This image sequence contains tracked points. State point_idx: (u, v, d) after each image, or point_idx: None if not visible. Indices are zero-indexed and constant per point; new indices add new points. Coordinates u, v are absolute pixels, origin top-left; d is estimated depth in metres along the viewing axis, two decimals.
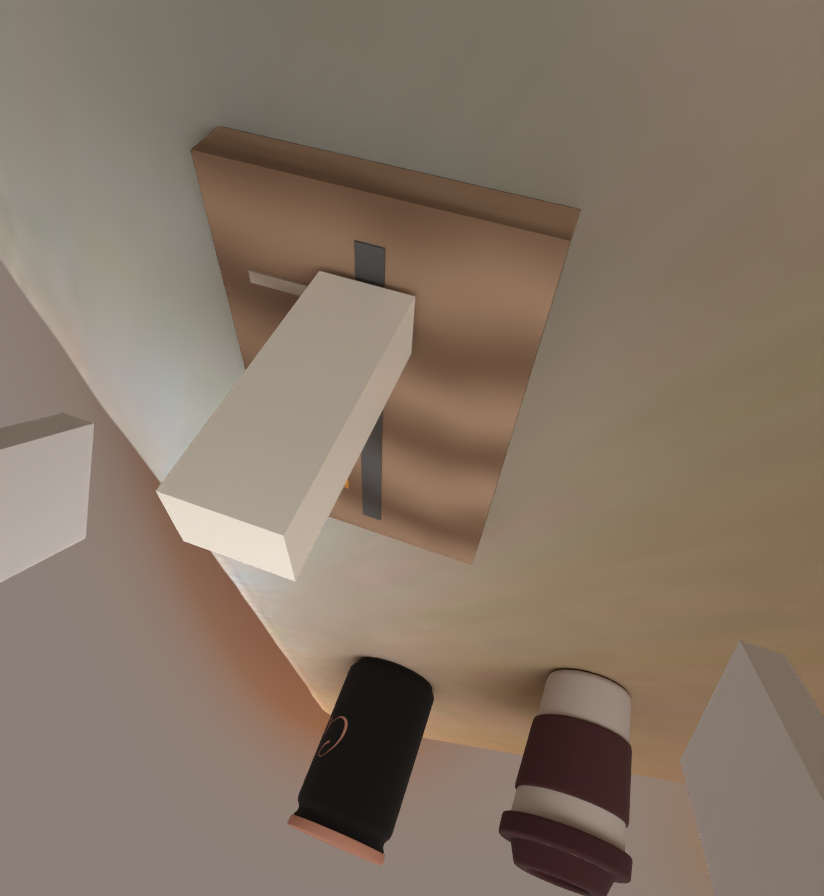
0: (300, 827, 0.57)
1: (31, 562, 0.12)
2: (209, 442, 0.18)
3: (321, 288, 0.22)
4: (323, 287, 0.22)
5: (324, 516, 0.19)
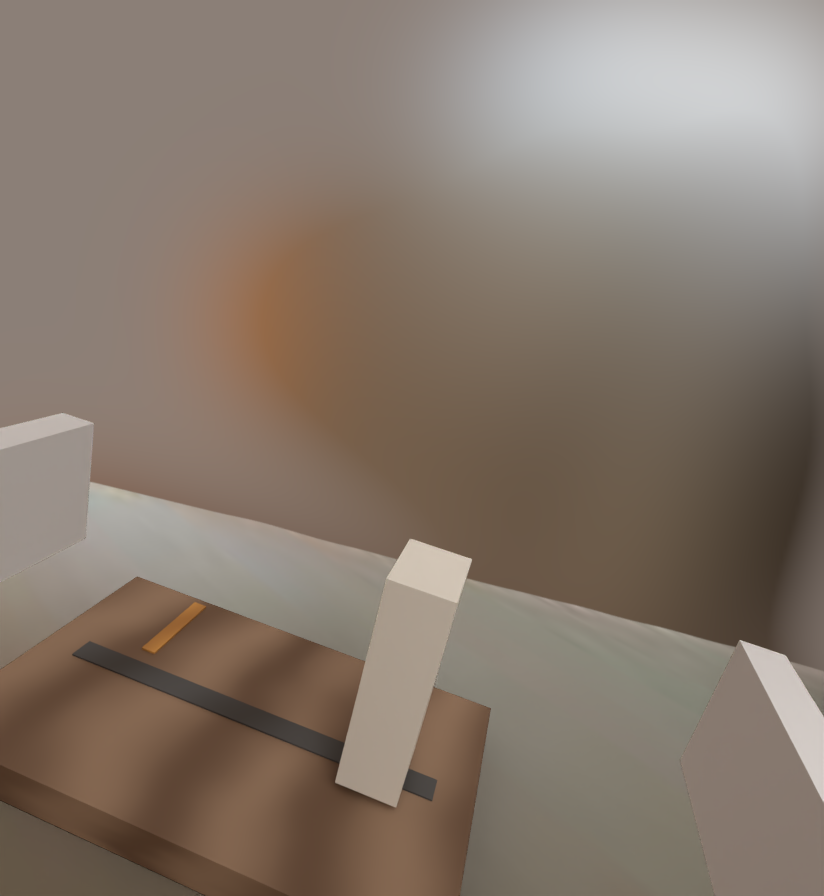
0: None
1: (30, 563, 0.12)
2: None
3: (418, 736, 0.29)
4: (417, 738, 0.29)
5: (383, 628, 0.24)
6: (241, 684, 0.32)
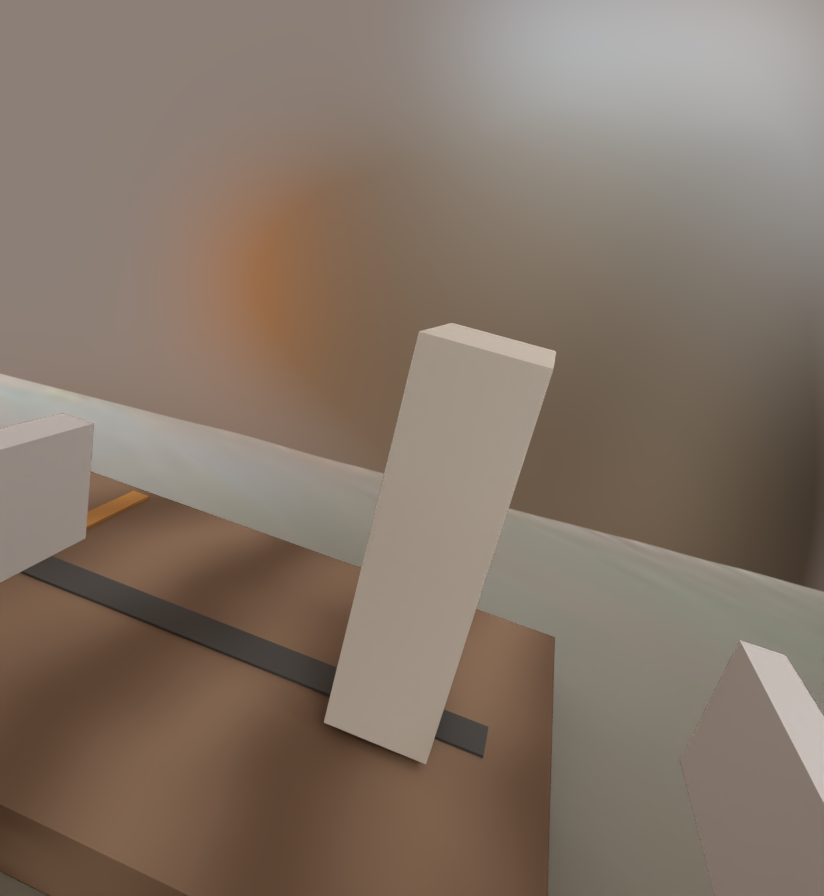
0: None
1: (31, 563, 0.12)
2: None
3: None
4: None
5: (412, 432, 0.13)
6: (185, 586, 0.21)
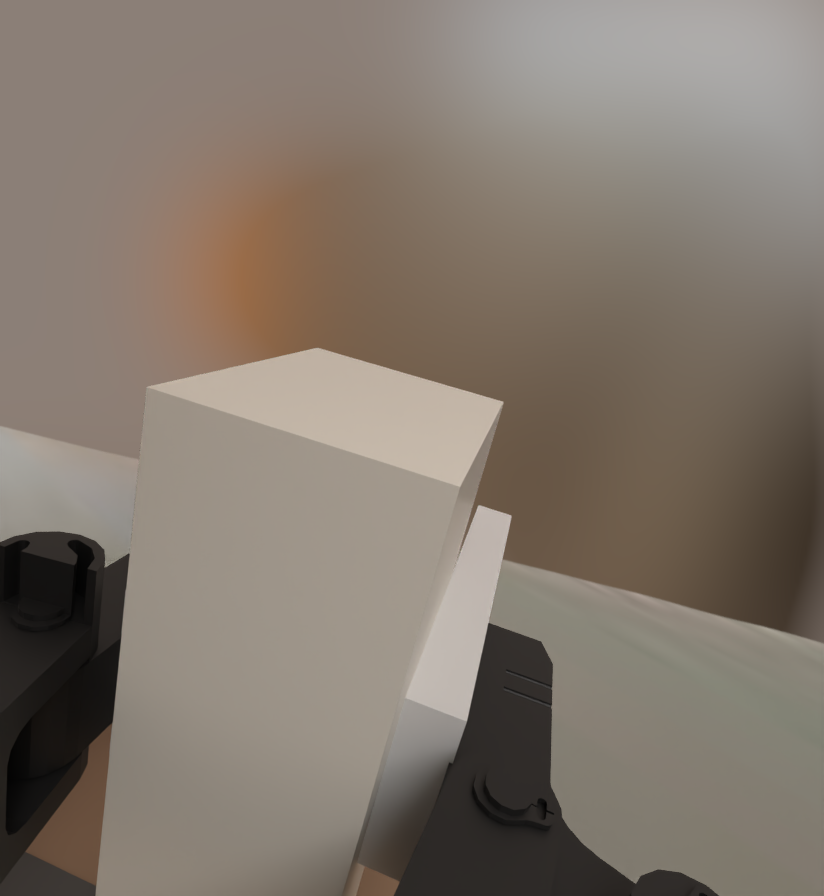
0: None
1: None
2: (462, 537, 0.09)
3: None
4: None
5: (160, 608, 0.06)
6: None
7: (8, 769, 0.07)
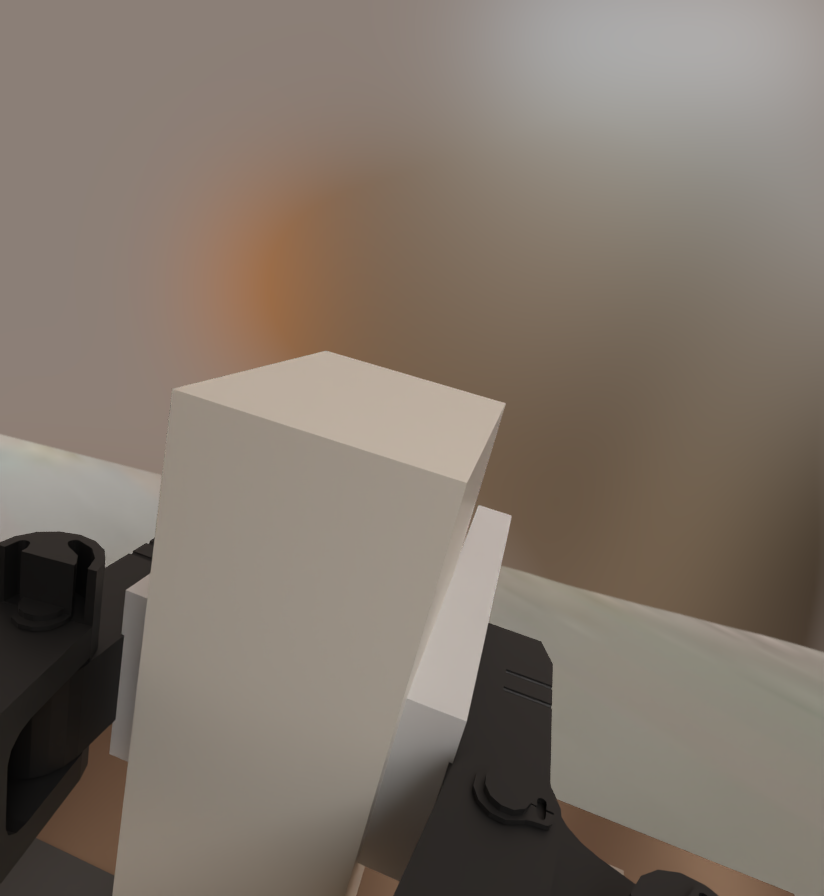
0: None
1: None
2: (465, 533, 0.09)
3: (356, 889, 0.12)
4: (355, 893, 0.12)
5: (181, 598, 0.06)
6: None
7: (8, 769, 0.07)
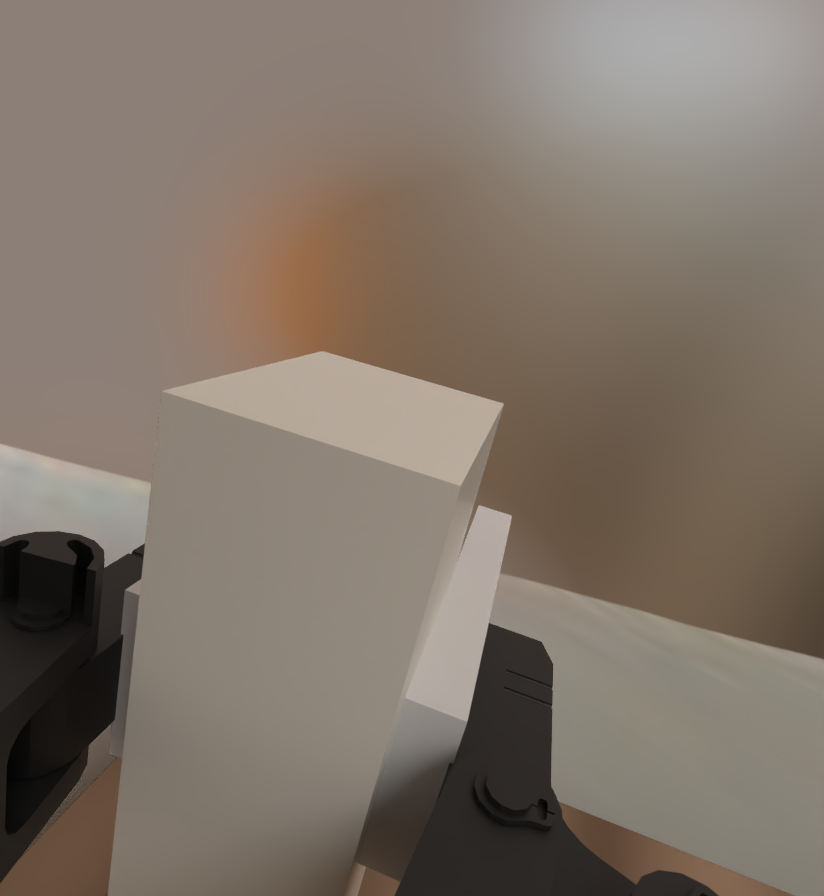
0: None
1: None
2: (463, 535, 0.09)
3: (356, 894, 0.11)
4: None
5: (173, 603, 0.06)
6: None
7: (7, 769, 0.07)
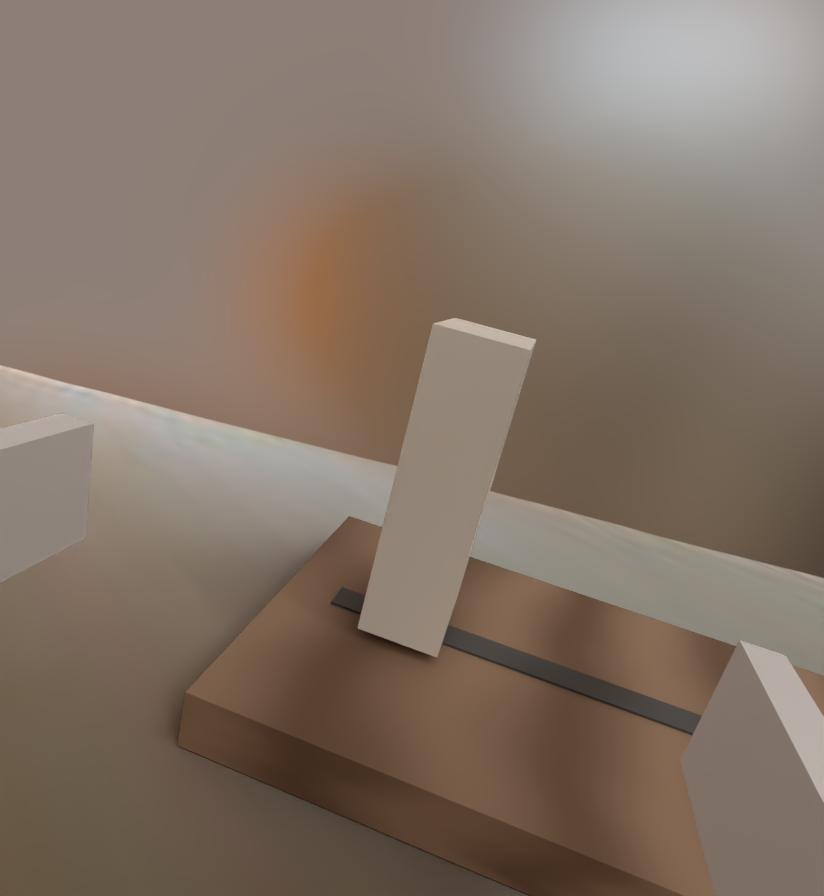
0: None
1: (31, 562, 0.12)
2: None
3: None
4: (459, 589, 0.23)
5: (427, 399, 0.18)
6: (549, 645, 0.23)
7: None
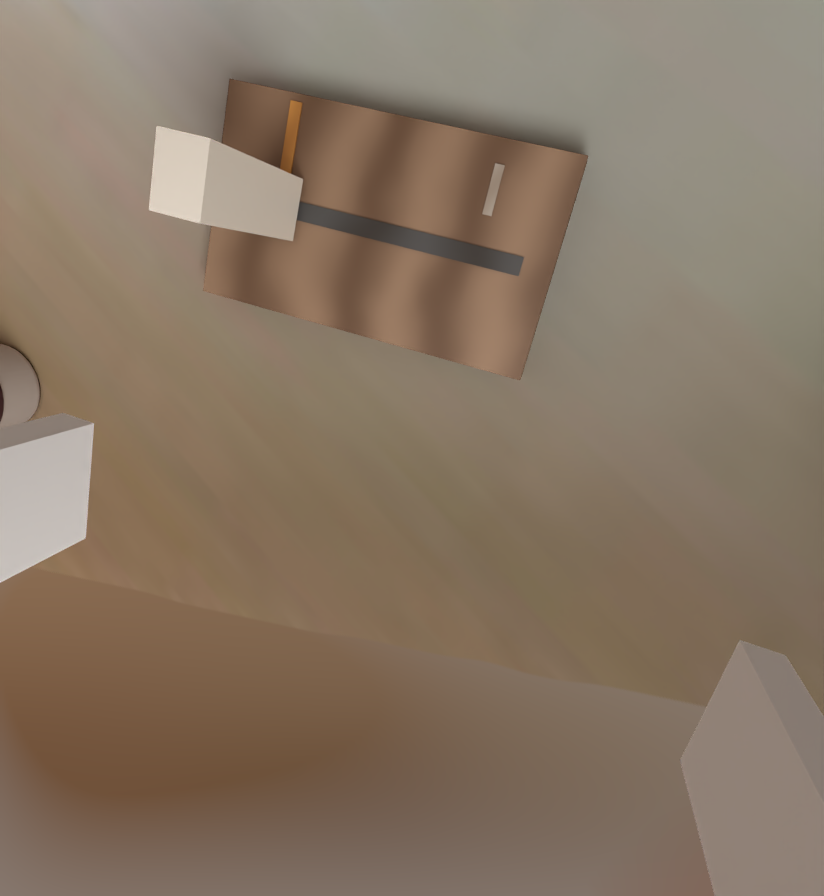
0: None
1: (31, 562, 0.12)
2: (231, 158, 0.31)
3: (295, 185, 0.38)
4: (296, 186, 0.38)
5: None
6: (361, 197, 0.39)
7: None
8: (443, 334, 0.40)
